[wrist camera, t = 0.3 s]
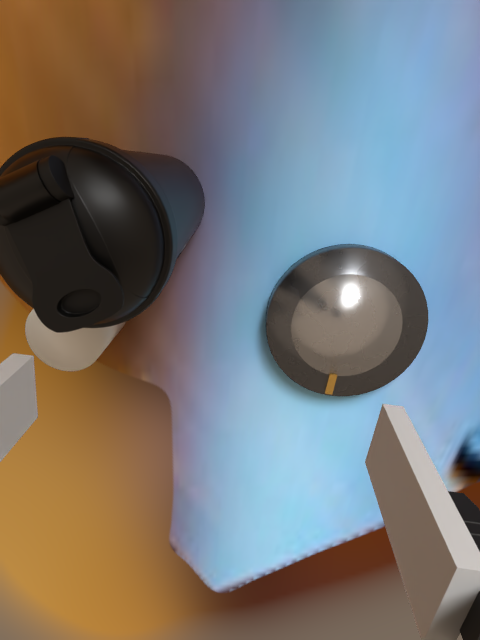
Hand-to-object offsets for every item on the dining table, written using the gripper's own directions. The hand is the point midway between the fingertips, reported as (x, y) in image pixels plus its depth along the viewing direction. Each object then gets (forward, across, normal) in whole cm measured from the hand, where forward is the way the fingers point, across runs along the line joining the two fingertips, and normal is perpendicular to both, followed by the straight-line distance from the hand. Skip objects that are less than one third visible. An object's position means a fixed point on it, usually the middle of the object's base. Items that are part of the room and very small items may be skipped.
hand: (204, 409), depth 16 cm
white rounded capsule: (+28, -15, -9) cm, 33 cm away
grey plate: (+28, +11, -6) cm, 31 cm away
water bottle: (+29, -8, +3) cm, 30 cm away
